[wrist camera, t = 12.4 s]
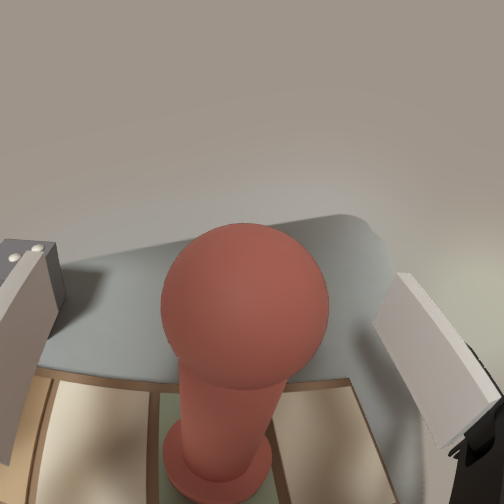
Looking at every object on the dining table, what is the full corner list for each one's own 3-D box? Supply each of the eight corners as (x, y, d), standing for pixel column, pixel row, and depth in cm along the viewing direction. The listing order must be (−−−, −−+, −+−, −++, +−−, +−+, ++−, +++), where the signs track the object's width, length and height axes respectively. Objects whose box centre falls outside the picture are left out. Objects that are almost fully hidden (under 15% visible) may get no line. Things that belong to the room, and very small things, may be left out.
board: (-101, 453, 5) (-113, 442, 4) (-59, 349, 13) (-67, 335, 12) (391, 518, 11) (404, 511, 10) (342, 388, 19) (350, 376, 18)
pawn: (166, 507, 10) (104, 309, 4) (165, 422, 14) (152, 184, 8) (273, 503, 11) (420, 313, 5) (257, 422, 15) (327, 200, 9)
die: (-5, 329, 17) (-26, 274, 14) (18, 289, 21) (4, 237, 19) (47, 339, 18) (28, 281, 15) (66, 295, 22) (55, 241, 20)
